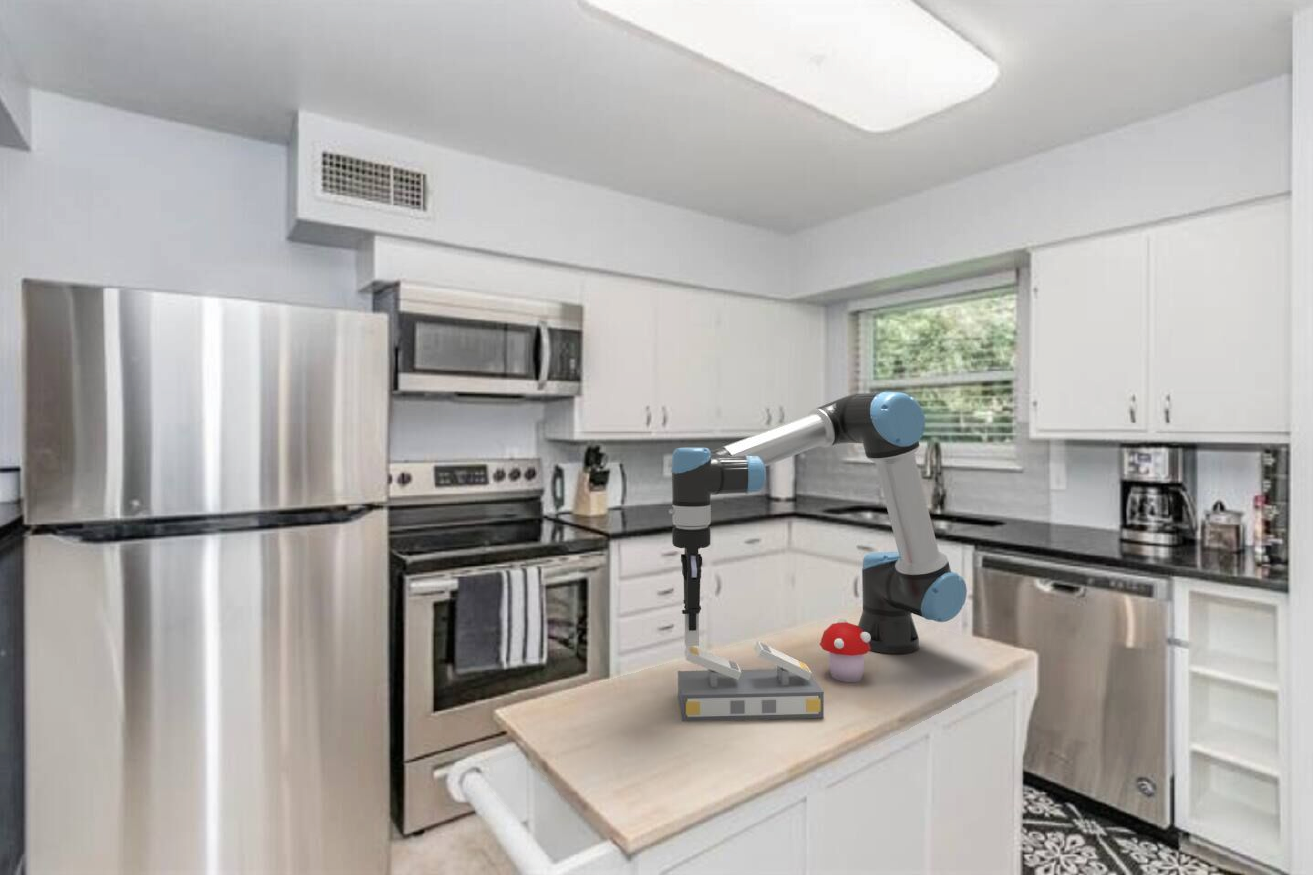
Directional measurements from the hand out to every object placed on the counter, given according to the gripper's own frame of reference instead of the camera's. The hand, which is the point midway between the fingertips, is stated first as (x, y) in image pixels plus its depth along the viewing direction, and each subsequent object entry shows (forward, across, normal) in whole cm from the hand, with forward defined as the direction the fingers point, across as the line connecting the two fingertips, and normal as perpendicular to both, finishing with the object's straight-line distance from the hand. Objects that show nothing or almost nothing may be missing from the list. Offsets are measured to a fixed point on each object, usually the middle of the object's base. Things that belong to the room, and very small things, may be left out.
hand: (691, 644), depth 132 cm
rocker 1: (+4, 0, +4) cm, 5 cm away
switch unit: (+13, 0, +11) cm, 17 cm away
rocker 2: (+4, 0, +18) cm, 18 cm away
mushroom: (+13, -14, +35) cm, 40 cm away
